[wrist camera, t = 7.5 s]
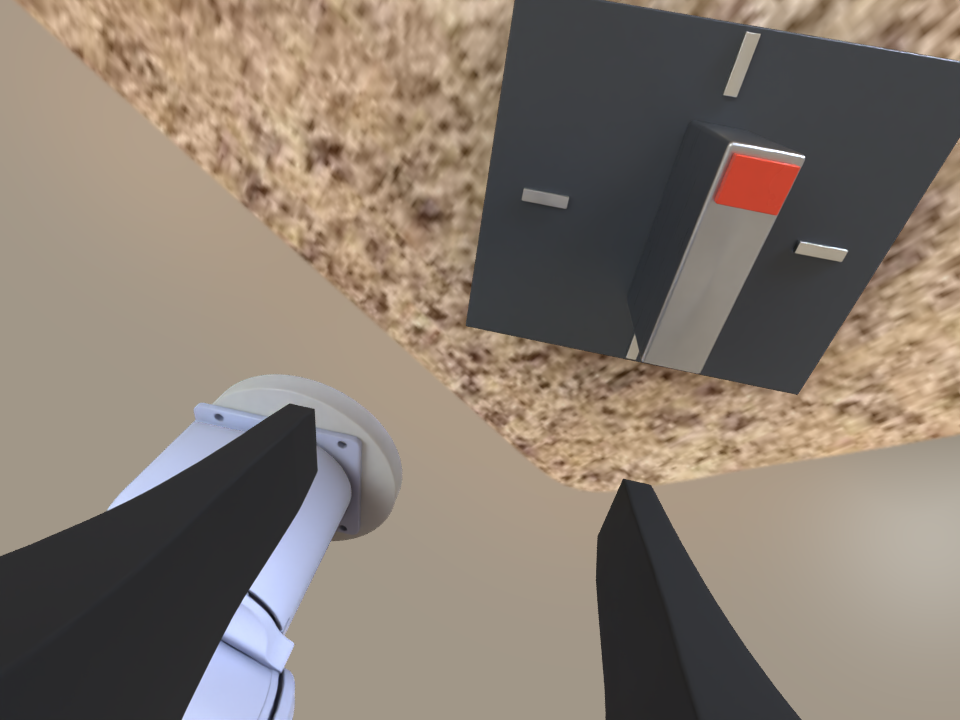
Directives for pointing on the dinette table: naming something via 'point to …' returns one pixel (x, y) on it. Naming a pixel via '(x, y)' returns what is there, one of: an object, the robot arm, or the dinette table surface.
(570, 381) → the dinette table surface
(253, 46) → the dinette table surface
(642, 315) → the tap handle
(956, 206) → the dinette table surface
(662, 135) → the block
